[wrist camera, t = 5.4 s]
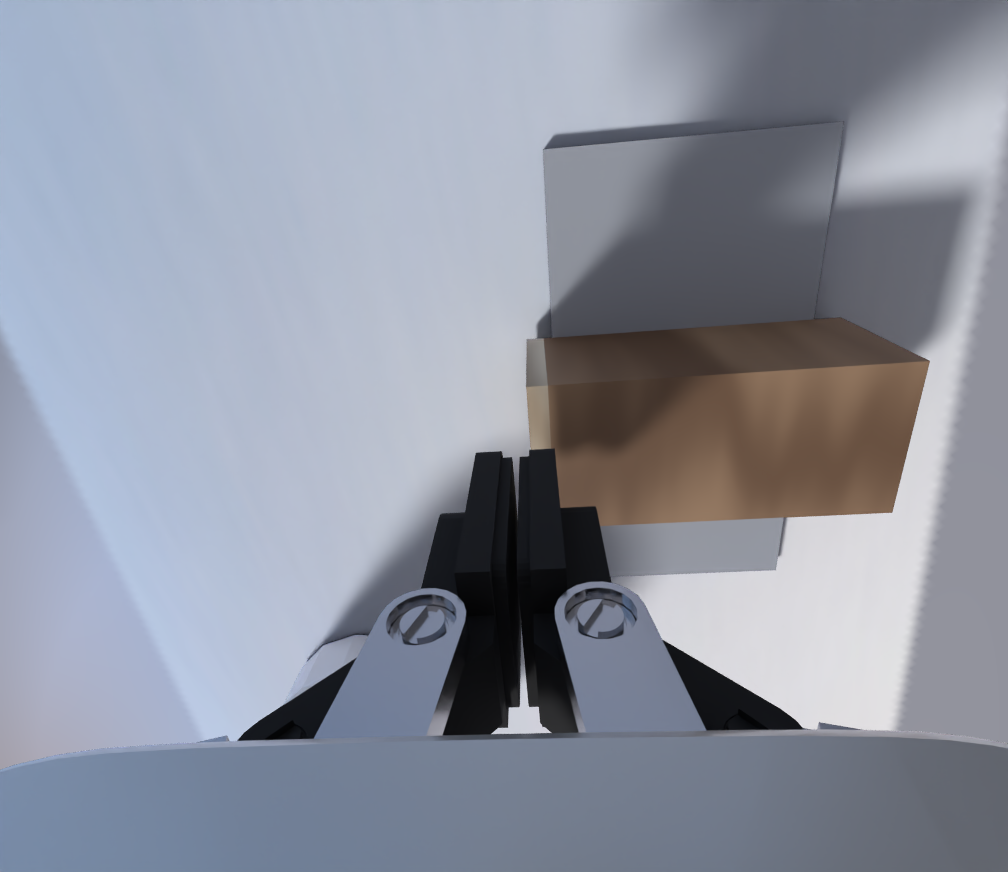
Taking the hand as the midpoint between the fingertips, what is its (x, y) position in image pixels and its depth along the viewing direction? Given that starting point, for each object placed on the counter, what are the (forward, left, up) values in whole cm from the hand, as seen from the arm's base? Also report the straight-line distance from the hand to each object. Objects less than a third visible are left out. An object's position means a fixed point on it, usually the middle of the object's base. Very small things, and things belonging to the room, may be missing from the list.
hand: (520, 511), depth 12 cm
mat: (0, +5, -7) cm, 8 cm away
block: (0, 0, -4) cm, 4 cm away
